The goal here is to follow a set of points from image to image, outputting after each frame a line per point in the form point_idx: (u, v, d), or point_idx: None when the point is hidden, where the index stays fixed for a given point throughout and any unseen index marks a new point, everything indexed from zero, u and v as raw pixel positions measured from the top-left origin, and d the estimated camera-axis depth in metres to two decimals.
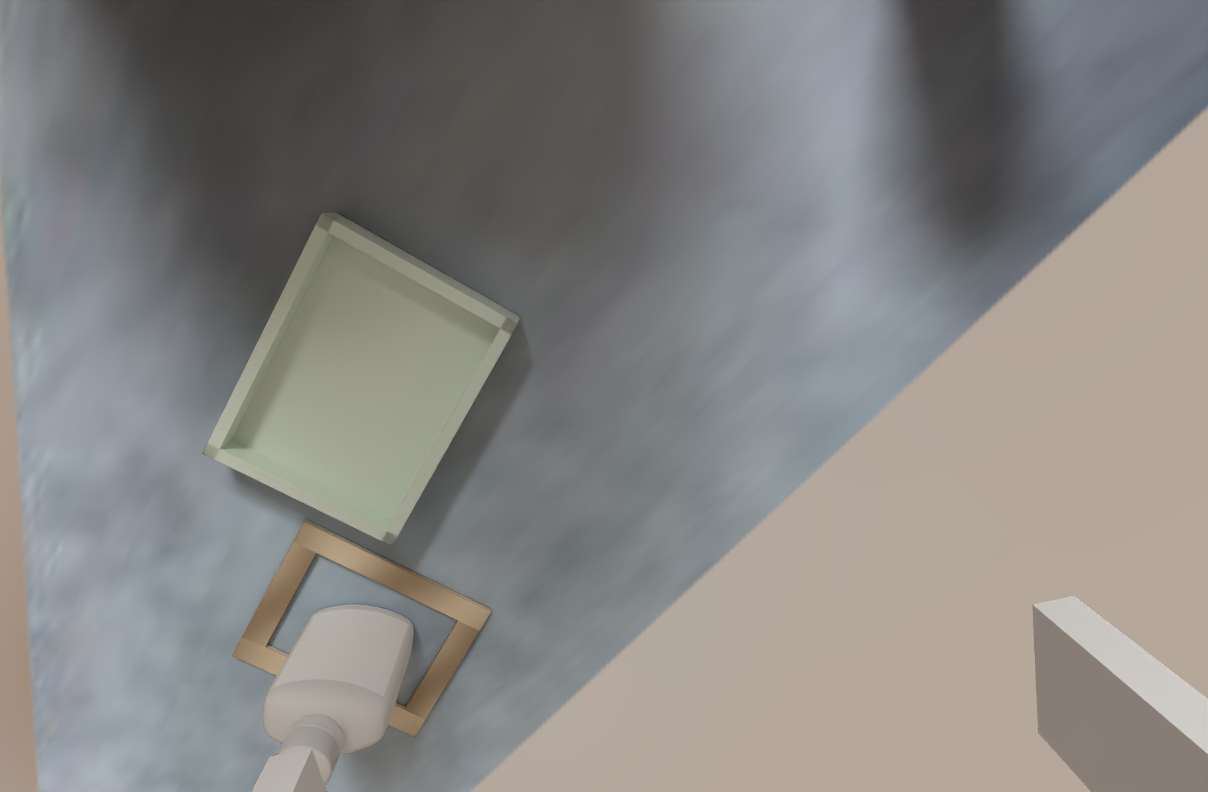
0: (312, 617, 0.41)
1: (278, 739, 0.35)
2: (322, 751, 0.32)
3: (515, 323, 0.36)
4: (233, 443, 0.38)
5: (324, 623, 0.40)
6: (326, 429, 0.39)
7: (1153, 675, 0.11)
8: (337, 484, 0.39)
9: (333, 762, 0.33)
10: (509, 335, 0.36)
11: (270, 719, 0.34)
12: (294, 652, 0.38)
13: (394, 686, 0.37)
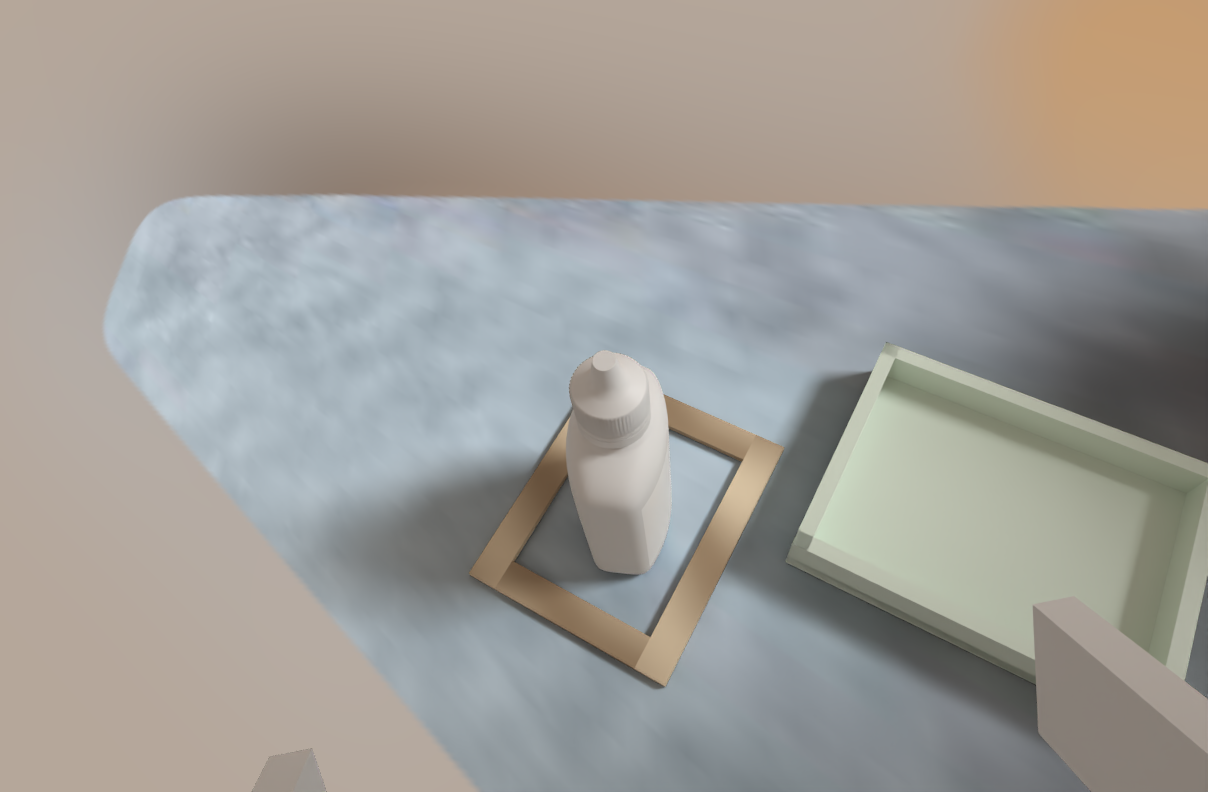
0: None
1: None
2: (635, 411, 0.23)
3: None
4: (887, 376, 0.33)
5: None
6: (920, 474, 0.31)
7: (1153, 675, 0.11)
8: (847, 484, 0.31)
9: (610, 425, 0.23)
10: None
11: None
12: None
13: (632, 530, 0.26)
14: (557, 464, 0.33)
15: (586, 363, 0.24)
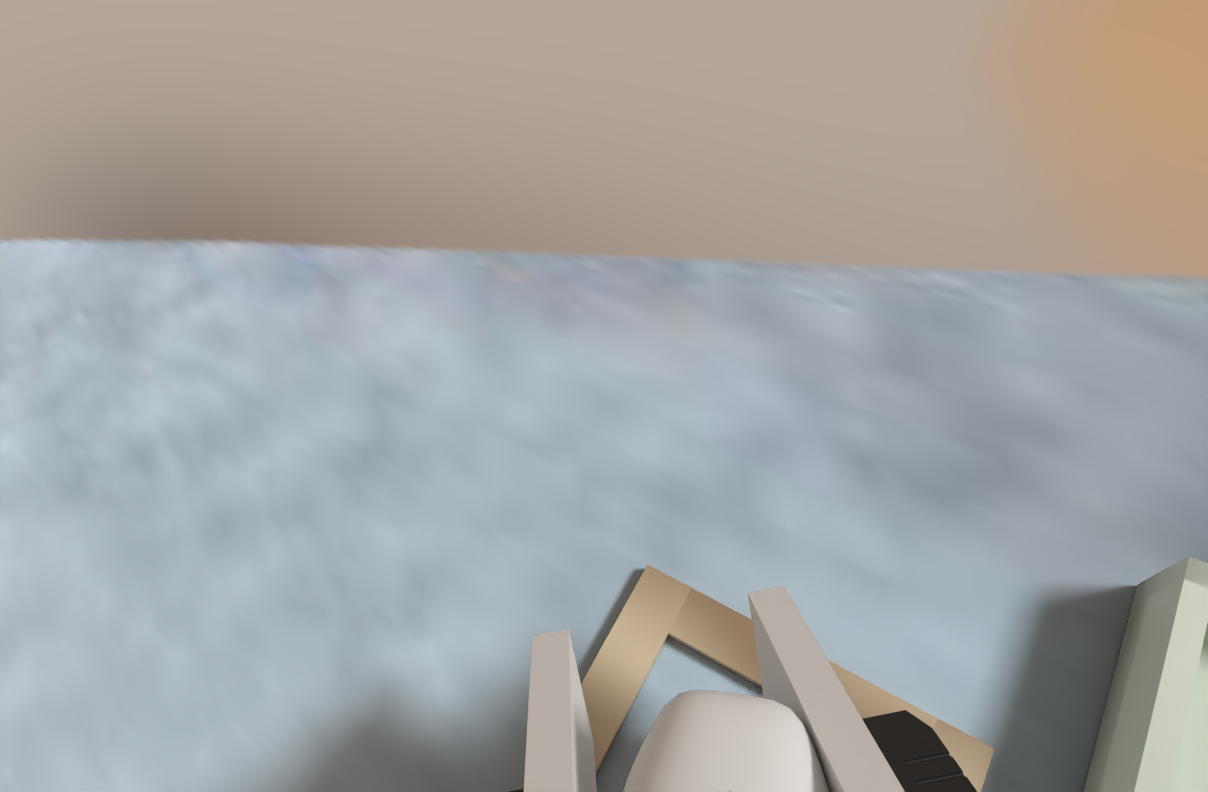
0: None
1: (681, 747, 0.11)
2: None
3: None
4: None
5: None
6: None
7: (804, 651, 0.13)
8: None
9: None
10: None
11: (746, 725, 0.11)
12: None
13: None
14: None
15: None
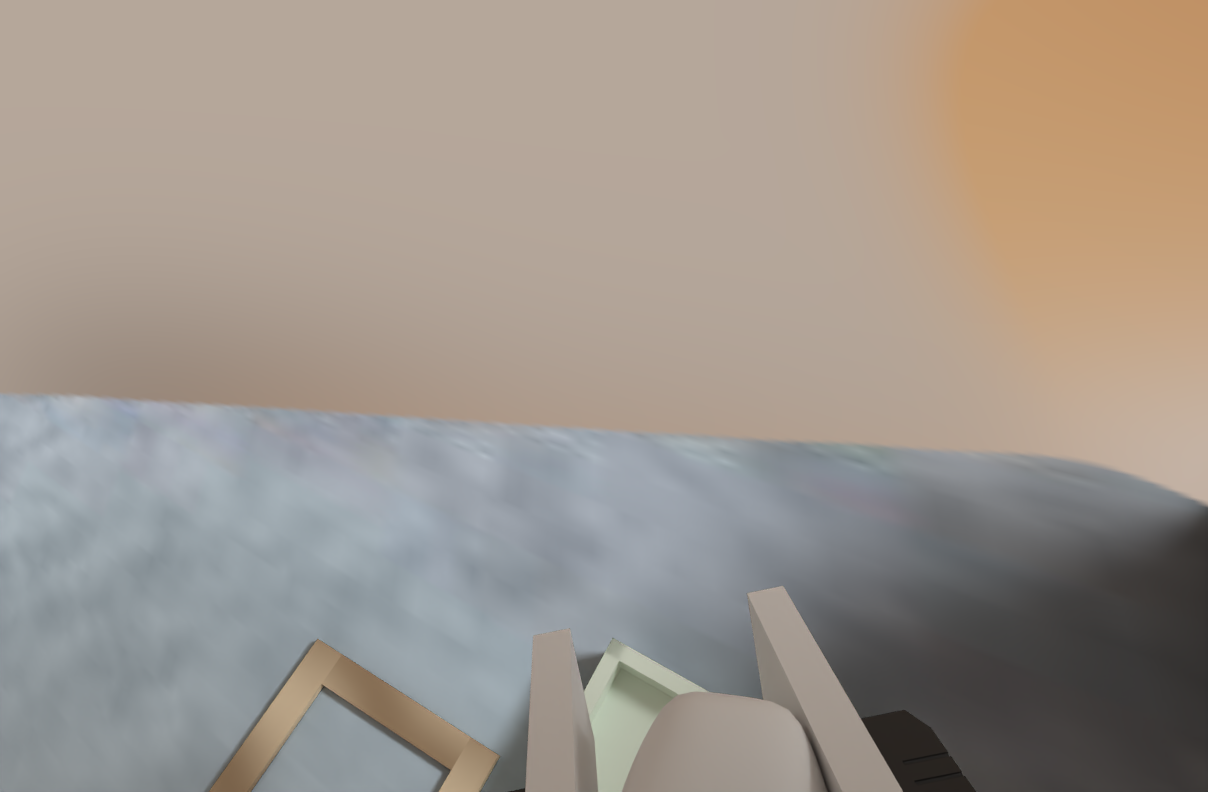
0: None
1: (679, 749, 0.11)
2: None
3: None
4: (617, 671, 0.29)
5: None
6: None
7: (803, 651, 0.13)
8: None
9: None
10: None
11: (744, 727, 0.11)
12: None
13: None
14: (245, 769, 0.29)
15: None
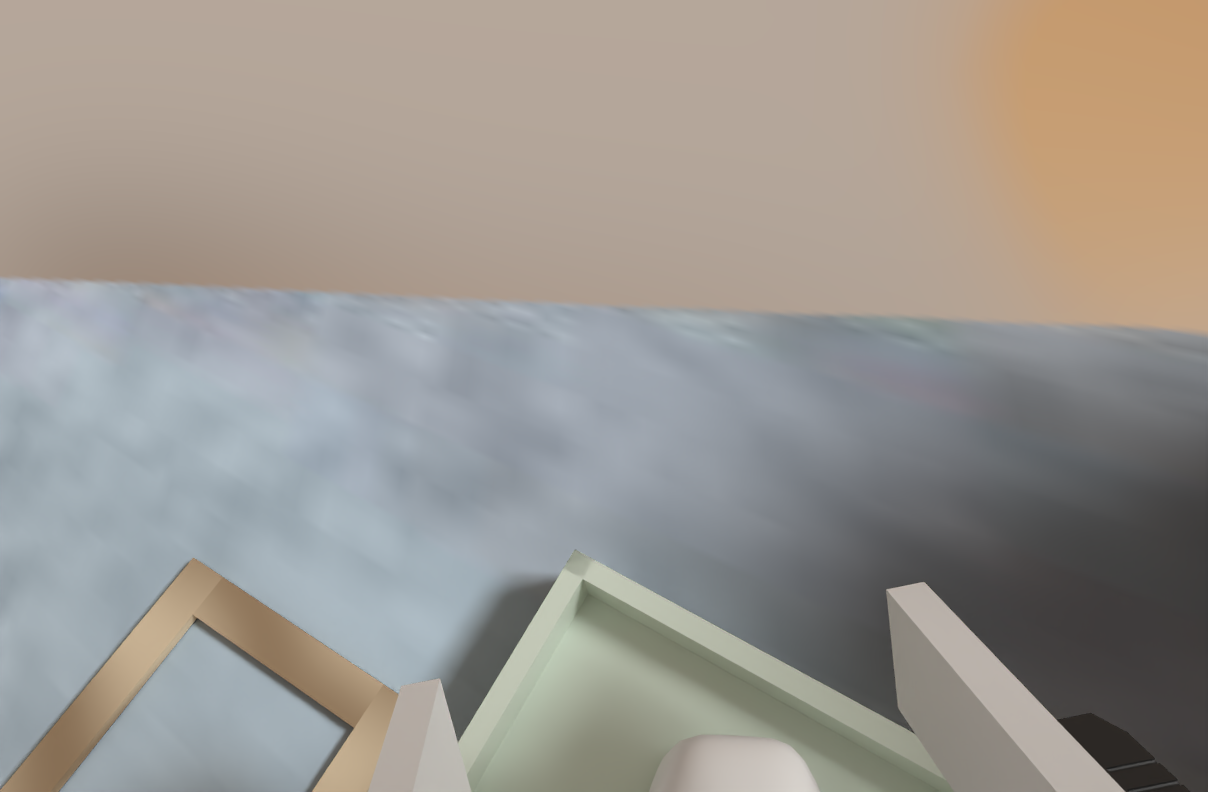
0: None
1: None
2: None
3: None
4: (583, 597, 0.22)
5: None
6: (604, 775, 0.20)
7: (969, 651, 0.13)
8: (490, 789, 0.20)
9: None
10: None
11: (755, 772, 0.12)
12: None
13: None
14: (81, 725, 0.22)
15: None
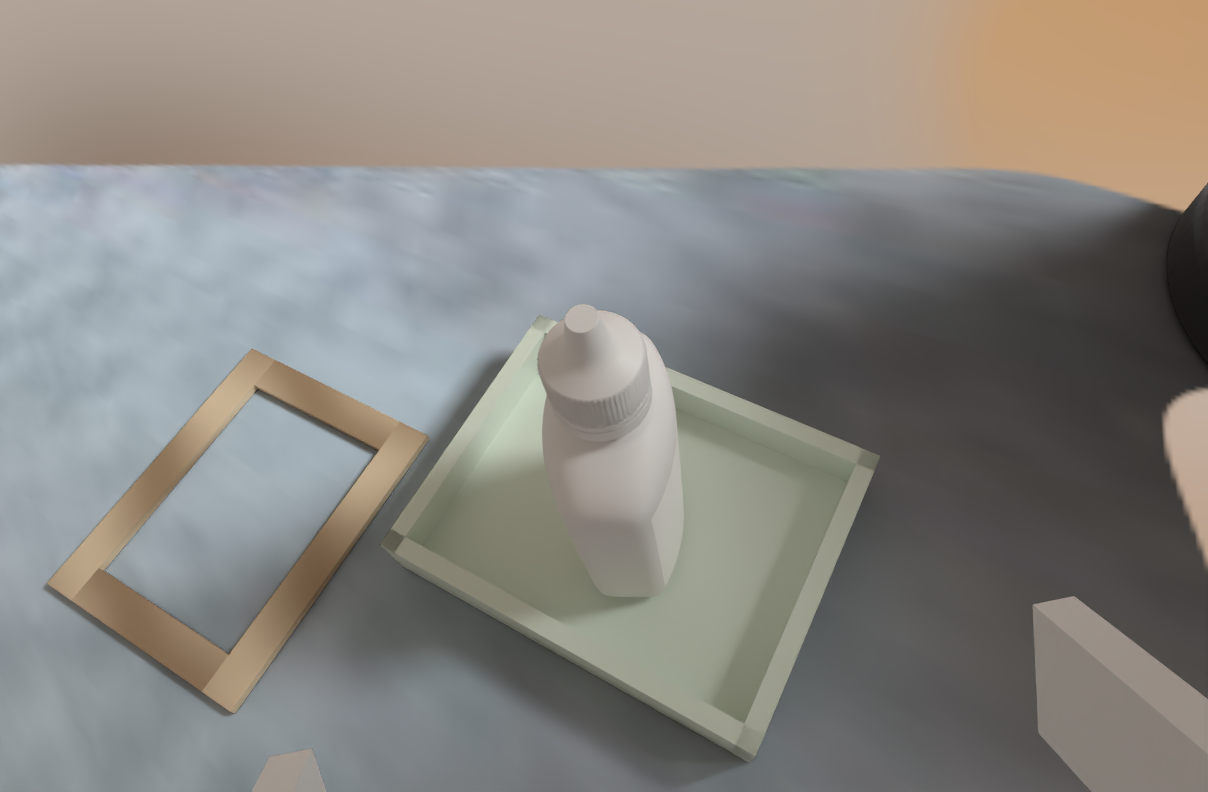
0: None
1: None
2: (632, 386, 0.16)
3: (755, 751, 0.21)
4: None
5: None
6: None
7: (1153, 675, 0.11)
8: (480, 476, 0.27)
9: (598, 409, 0.16)
10: (733, 740, 0.21)
11: None
12: None
13: (641, 546, 0.20)
14: (176, 457, 0.29)
15: (557, 327, 0.17)
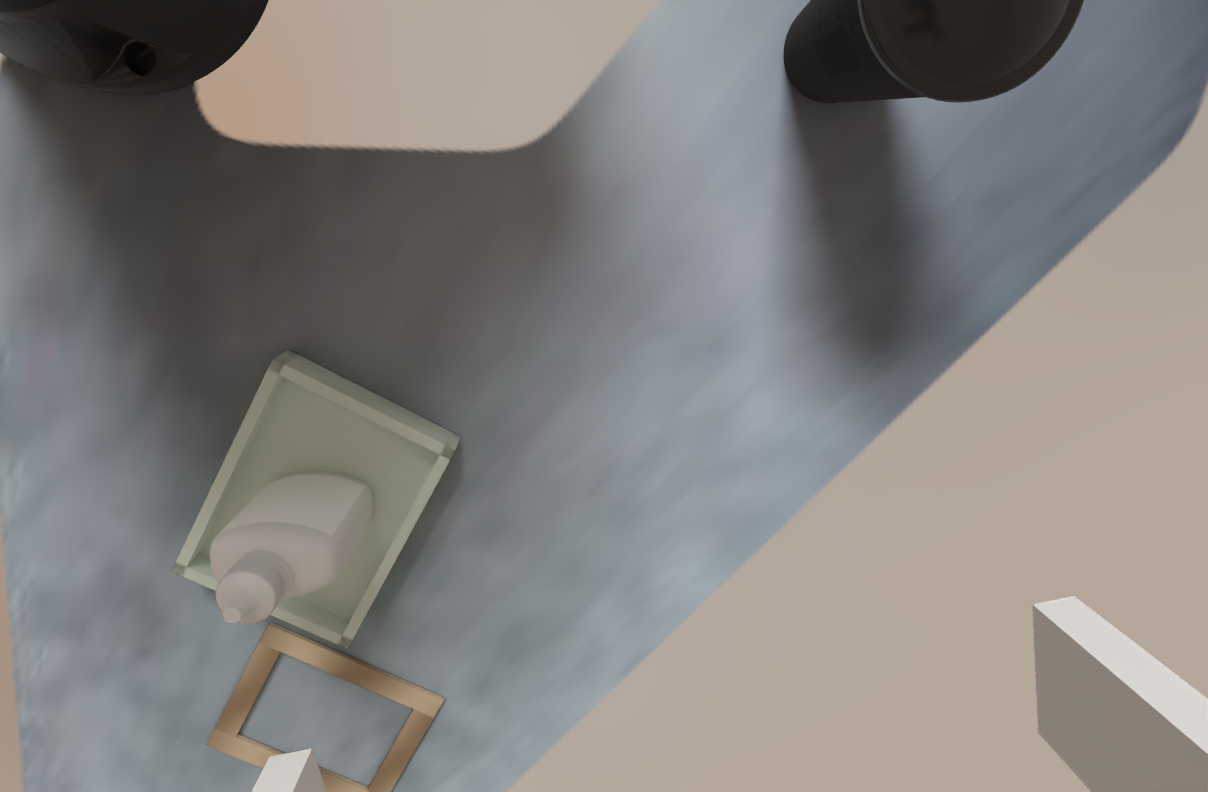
0: (266, 486, 0.40)
1: None
2: (264, 576, 0.31)
3: (453, 449, 0.40)
4: (200, 558, 0.42)
5: (276, 486, 0.39)
6: None
7: (1153, 675, 0.11)
8: None
9: (278, 590, 0.32)
10: (448, 460, 0.40)
11: (216, 563, 0.34)
12: (243, 509, 0.37)
13: (346, 531, 0.36)
14: None
15: None
